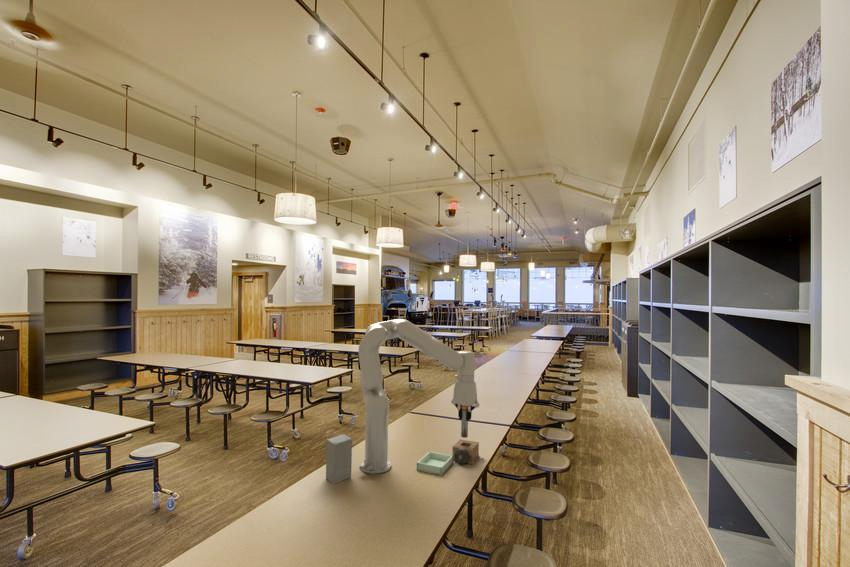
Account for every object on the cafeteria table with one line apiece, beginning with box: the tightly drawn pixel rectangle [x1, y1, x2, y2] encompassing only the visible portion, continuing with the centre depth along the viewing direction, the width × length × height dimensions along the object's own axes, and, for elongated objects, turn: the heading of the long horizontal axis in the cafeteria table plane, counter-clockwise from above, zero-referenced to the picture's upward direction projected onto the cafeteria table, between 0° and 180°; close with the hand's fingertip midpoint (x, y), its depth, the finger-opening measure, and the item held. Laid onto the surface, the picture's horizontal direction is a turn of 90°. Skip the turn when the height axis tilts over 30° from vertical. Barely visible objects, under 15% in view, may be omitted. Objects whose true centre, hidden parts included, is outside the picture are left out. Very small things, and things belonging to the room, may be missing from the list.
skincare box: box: [325, 433, 353, 485], centre depth 152 cm, size 8×7×16 cm
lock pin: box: [460, 405, 469, 439], centre depth 173 cm, size 4×4×14 cm
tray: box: [416, 451, 454, 476], centre depth 163 cm, size 13×11×3 cm
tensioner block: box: [452, 439, 480, 465], centre depth 171 cm, size 13×9×6 cm
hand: (464, 419), depth 173 cm, fingers closed on lock pin, 3 cm apart
